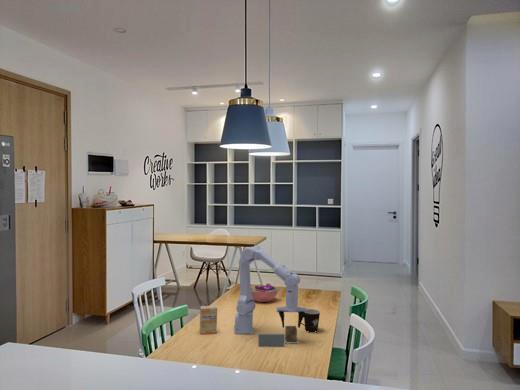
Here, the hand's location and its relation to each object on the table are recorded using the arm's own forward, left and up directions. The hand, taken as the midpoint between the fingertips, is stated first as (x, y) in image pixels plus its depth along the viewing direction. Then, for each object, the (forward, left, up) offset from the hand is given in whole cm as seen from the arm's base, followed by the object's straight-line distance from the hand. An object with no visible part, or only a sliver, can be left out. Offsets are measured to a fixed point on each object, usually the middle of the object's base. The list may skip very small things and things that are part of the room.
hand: (291, 327), depth 191 cm
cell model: (-10, +70, -7) cm, 71 cm away
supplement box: (-41, +11, -7) cm, 43 cm away
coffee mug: (+11, +15, -7) cm, 20 cm away
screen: (-10, -6, -7) cm, 14 cm away
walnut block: (0, 0, -6) cm, 6 cm away
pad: (0, 0, -7) cm, 7 cm away
